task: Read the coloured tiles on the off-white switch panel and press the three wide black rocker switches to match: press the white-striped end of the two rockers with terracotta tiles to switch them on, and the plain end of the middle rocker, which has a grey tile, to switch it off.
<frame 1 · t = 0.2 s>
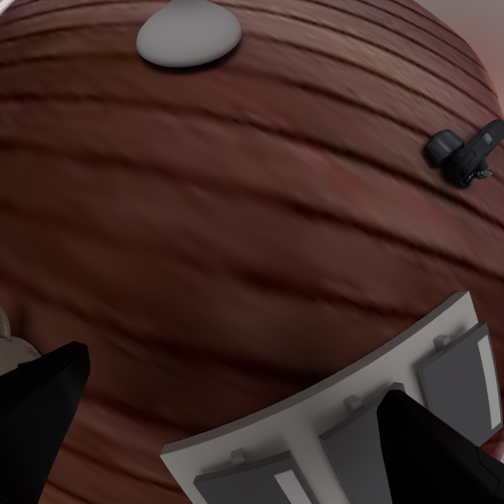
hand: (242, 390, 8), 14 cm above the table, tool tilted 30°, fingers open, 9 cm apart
switch panel: (362, 447, 20), on the table
flower in vase: (183, 43, 27), on the table
rocker b: (384, 466, 16), point 4 cm above the table, hinge at 10.0°
rocker c: (467, 401, 18), point 4 cm above the table, hinge at -10.0°
can opener: (466, 153, 28), on the table
teacup with lid: (23, 367, 19), on the table
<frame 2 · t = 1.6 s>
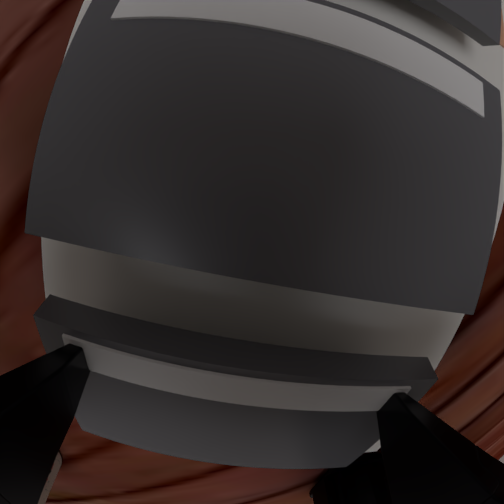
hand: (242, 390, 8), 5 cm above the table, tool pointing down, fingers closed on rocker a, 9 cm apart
switch panel: (280, 135, 10), on the table
rocker a: (229, 420, 9), point 4 cm above the table, hinge at -9.8°, touching gripper
rocker b: (301, 123, 6), point 4 cm above the table, hinge at 10.0°
teacup with lid: (12, 423, 17), on the table
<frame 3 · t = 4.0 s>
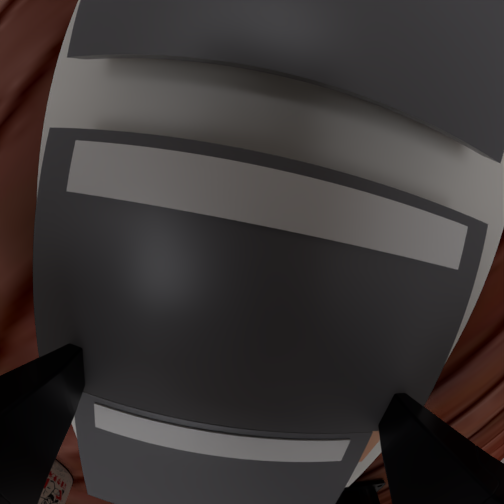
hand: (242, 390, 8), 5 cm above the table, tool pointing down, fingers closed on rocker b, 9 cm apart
switch panel: (255, 252, 11), on the table
rocker a: (214, 478, 10), point 4 cm above the table, hinge at 16.7°
rocker b: (260, 309, 7), point 4 cm above the table, hinge at 8.8°, touching gripper
teacup with lid: (26, 448, 18), on the table
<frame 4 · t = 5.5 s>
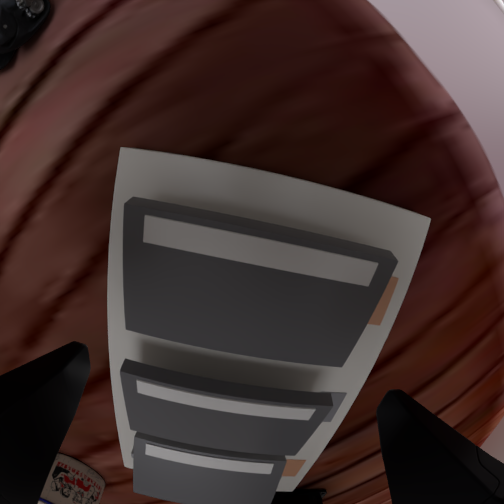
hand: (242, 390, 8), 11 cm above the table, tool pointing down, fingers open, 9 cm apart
switch panel: (224, 377, 20), on the table
rocker a: (205, 479, 19), point 4 cm above the table, hinge at 19.5°
rocker b: (220, 420, 16), point 4 cm above the table, hinge at -8.5°
rocker c: (250, 296, 14), point 4 cm above the table, hinge at -10.0°
teacup with lid: (69, 463, 27), on the table
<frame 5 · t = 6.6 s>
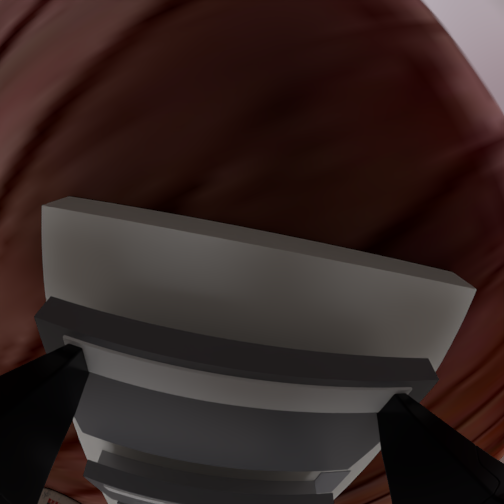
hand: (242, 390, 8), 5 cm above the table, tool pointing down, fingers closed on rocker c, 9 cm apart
switch panel: (210, 453, 16), on the table
rocker c: (229, 422, 9), point 4 cm above the table, hinge at -9.3°, touching gripper
teacup with lid: (60, 497, 22), on the table
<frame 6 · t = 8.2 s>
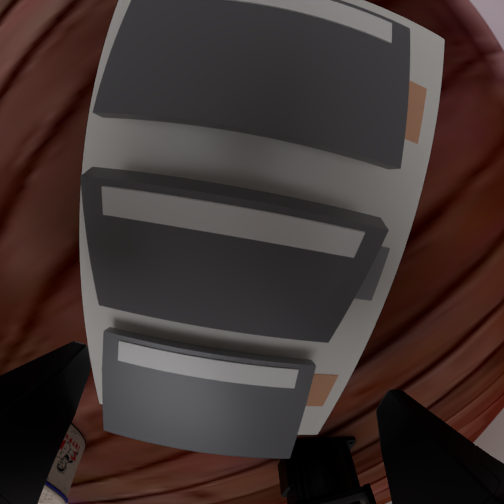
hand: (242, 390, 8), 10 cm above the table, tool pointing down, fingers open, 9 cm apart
switch panel: (227, 235, 17), on the table
rocker a: (201, 404, 16), point 4 cm above the table, hinge at 20.4°
rocker b: (222, 268, 13), point 4 cm above the table, hinge at -15.1°
rocker c: (265, 49, 10), point 4 cm above the table, hinge at 8.9°
teacup with lid: (44, 418, 24), on the table
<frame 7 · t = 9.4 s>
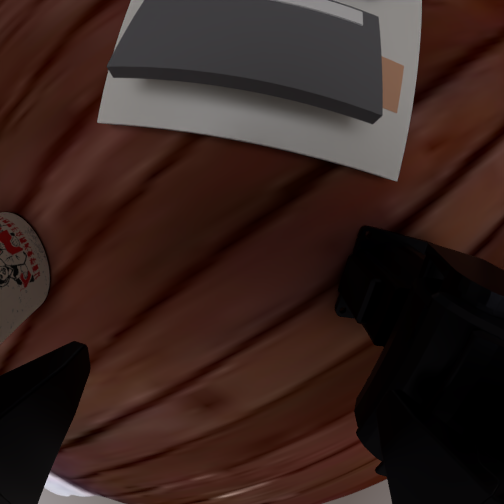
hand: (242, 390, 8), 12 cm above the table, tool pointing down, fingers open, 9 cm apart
rocker a: (256, 28, 11), point 4 cm above the table, hinge at 20.5°
teacup with lid: (6, 249, 19), on the table
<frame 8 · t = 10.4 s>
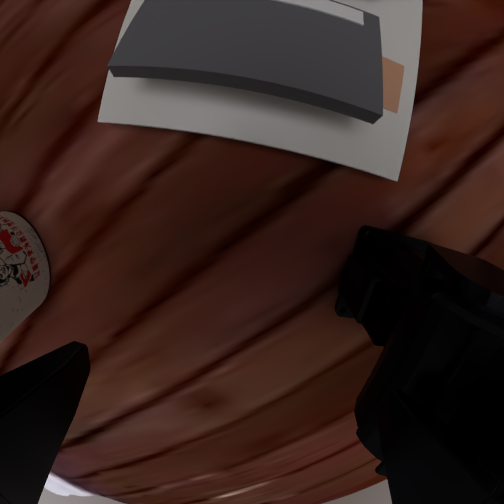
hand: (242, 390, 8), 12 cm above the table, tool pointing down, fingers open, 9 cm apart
rocker a: (257, 28, 11), point 4 cm above the table, hinge at 20.5°
teacup with lid: (6, 249, 19), on the table
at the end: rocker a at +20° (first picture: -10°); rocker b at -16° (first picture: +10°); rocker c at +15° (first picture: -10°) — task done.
